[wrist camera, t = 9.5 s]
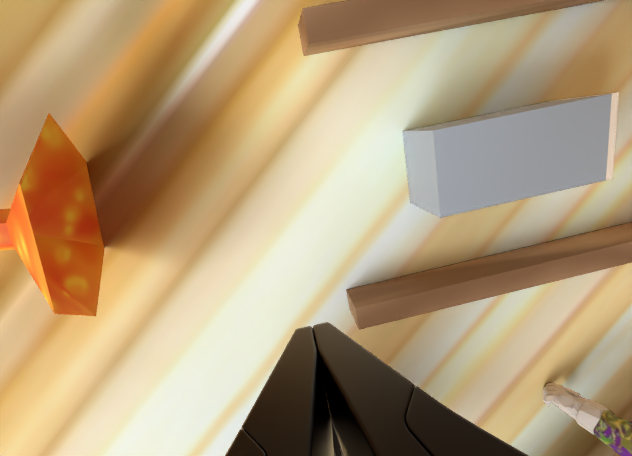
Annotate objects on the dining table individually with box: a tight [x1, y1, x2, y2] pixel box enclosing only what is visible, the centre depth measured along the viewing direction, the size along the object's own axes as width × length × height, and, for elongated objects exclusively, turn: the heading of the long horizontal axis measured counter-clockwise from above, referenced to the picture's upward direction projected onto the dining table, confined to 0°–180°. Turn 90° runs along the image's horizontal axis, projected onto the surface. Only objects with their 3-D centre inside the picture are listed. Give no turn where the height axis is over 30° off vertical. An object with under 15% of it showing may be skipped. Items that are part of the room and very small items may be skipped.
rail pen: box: [298, 0, 632, 329], centre depth 20 cm, size 18×24×2 cm
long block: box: [403, 92, 619, 218], centre depth 19 cm, size 4×4×10 cm
